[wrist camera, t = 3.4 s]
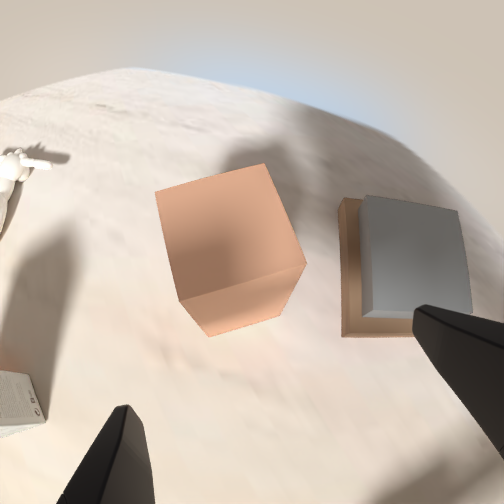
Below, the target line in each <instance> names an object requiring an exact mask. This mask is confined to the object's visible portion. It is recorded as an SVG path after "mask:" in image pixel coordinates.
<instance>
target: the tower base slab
mask: <svg viewBox="0 0 504 504" xmlns="http://www.w3.org/2000/svg"><path fill="white" fill-rule="evenodd" d="M362 202H363V200H360V199H351V198H344V199H343V201H342V203H341V205H340V207H339V209H338V222H339V239H340V262H341V310H342V327H341V337H353V338H381V337H415V336H414V335H413V332H412V322H413V319H401V318H373V317H362V283H361V253H360V234H359V218H358V208H359V207H360V205H361V203H362Z"/></svg>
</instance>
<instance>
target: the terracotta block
mask: <svg viewBox="0 0 504 504" xmlns="http://www.w3.org/2000/svg"><path fill="white" fill-rule="evenodd" d="M155 196H156V201H157V206H158V211H159V216H160V221H161V226H162V231H163V235H164V240H165V244H166V249H167V253H168V258H169V262H170V266H171V271H172V275H173V279H174V283H175V287H176V291H177V295H178V299H179V302H180V303H181V304H182V306H183V307H184V308H185V309H186V311H187V312H188V313H189V314H190V316H191V317H192V318H193V319H194V320H195V322H196V323H197V324H198V325H199V327H200V328H201V329H202V330H203V331H204V333H205V334H206V335H207V336H208V337H212V336H215V335H219V334H222V333H226V332H229V331H232V330H236V329H239V328H242V327H245V326H249V325H252V324H255V323H258V322H261V321H265V320H268V319H271V318H274V317H277V316H280V314H281V312H282V310H283V308H284V307H285V305H286V303H287V301H288V299H289V297H290V295H291V293H292V291H293V290H294V288H295V286H296V284H297V282H298V280H299V278H300V276H301V274H302V272H303V270H304V268H305V266H306V264H307V262H306V259H305V257H304V254H303V252H302V249H301V247H300V245H299V242H298V240H297V237H296V235H295V233H294V230H293V228H292V225H291V223H290V221H289V218H288V216H287V214H286V211H285V209H284V207H283V204H282V202H281V200H280V197H279V195H278V193H277V190H276V188H275V186H274V184H273V181H272V179H271V177H270V175H269V172H268V170H267V168H266V166H265V163H262V164H258V165H254V166H250V167H245V168H241V169H237V170H233V171H229V172H225V173H221V174H217V175H214V176H210V177H206V178H202V179H199V180H195V181H191V182H188V183H184V184H181V185H177V186H174V187H170V188H167V189H163V190H160V191H157V192H155Z"/></svg>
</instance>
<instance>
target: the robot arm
mask: <svg viewBox="0 0 504 504" xmlns="http://www.w3.org/2000/svg"><path fill="white" fill-rule="evenodd" d="M412 332H413V335H414V336H415V338H416V339H417V341H418V342H419V344H420V345H421V347H422V348H423V350H424V352H425V353H426V355H427V356H428V358H429V359H430V361H431V362H432V364H433V365H434V367H435V368H436V370H437V371H438V372H439V374H440V375H441V376H442V377H443V379H444V380H445V381H446V382H447V384H448V385H449V386H450V387H451V389H452V390H453V391H454V393H455V394H456V395H457V396H458V398H459V399H460V400H461V402H462V403H463V404H464V405H465V407H466V408H467V409H468V411H469V412H470V413H471V415H472V416H473V417H474V419H475V420H476V421H477V423H478V424H479V425H480V427H481V428H482V430H483V431H484V432H485V434H486V435H487V436H488V438H489V439H490V441H491V442H492V443H493V445H494V446H495V448H496V449H497V451H498V452H499V454H500V455H501V457H502V458H503V459H504V323H500V322H496V321H492V320H488V319H484V318H480V317H476V316H472V315H468V314H464V313H460V312H456V311H452V310H448V309H444V308H440V307H436V306H432V305H428V304H423V305H421V306H419V307H417V308H416V309H415V310H414V313H413V322H412ZM56 504H155V497H154V487H153V477H152V469H151V463H150V459H149V453H148V448H147V443H146V437H145V431H144V426H143V423H142V421H141V420H140V418H139V417H138V416H137V414H136V413H135V411H134V410H133V409H132V407H131V406H130V405H122V406H117V407H116V408H115V409H114V410H113V412H112V413H111V415H110V417H109V418H108V420H107V421H106V423H105V424H104V426H103V428H102V429H101V431H100V432H99V434H98V436H97V437H96V439H95V440H94V442H93V444H92V445H91V447H90V448H89V450H88V452H87V453H86V455H85V457H84V458H83V460H82V461H81V463H80V465H79V466H78V468H77V470H76V471H75V473H74V475H73V476H72V478H71V480H70V481H69V483H68V485H67V486H66V488H65V490H64V491H63V494H61V496H60V498H59V499H58V501H57V503H56Z"/></svg>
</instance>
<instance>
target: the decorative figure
mask: <svg viewBox="0 0 504 504" xmlns="http://www.w3.org/2000/svg"><path fill="white" fill-rule="evenodd" d="M0 163H1V164H0V233H1V230H2V228H3V224H4V221H5V217H6V213H7V201H8V200H9V198H10V196H11V195H12V192H13V189H14V185H15V181H16V180H18V181H20V182H23V181H25V180H27V178H28V177H29V174H30V169H29V167H35V168H38V169H44V170H50V169H51V168H52V167H53V164H52V163H51V162H50V161H46V160H40V159H37V160H36V159H34V158H33V159H31V158H28V157H27V154H26V153H22V148H18V149H17V150H16V151H15V153H13V152H9V153H8V154H7V155H0Z"/></svg>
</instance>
